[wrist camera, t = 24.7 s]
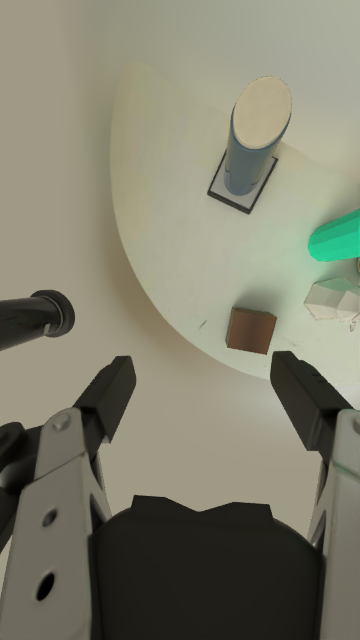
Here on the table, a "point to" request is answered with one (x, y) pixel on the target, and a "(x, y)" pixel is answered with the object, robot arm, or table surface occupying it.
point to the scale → (238, 202)
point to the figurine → (335, 300)
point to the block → (250, 330)
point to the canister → (255, 132)
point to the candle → (337, 239)
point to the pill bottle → (358, 264)
